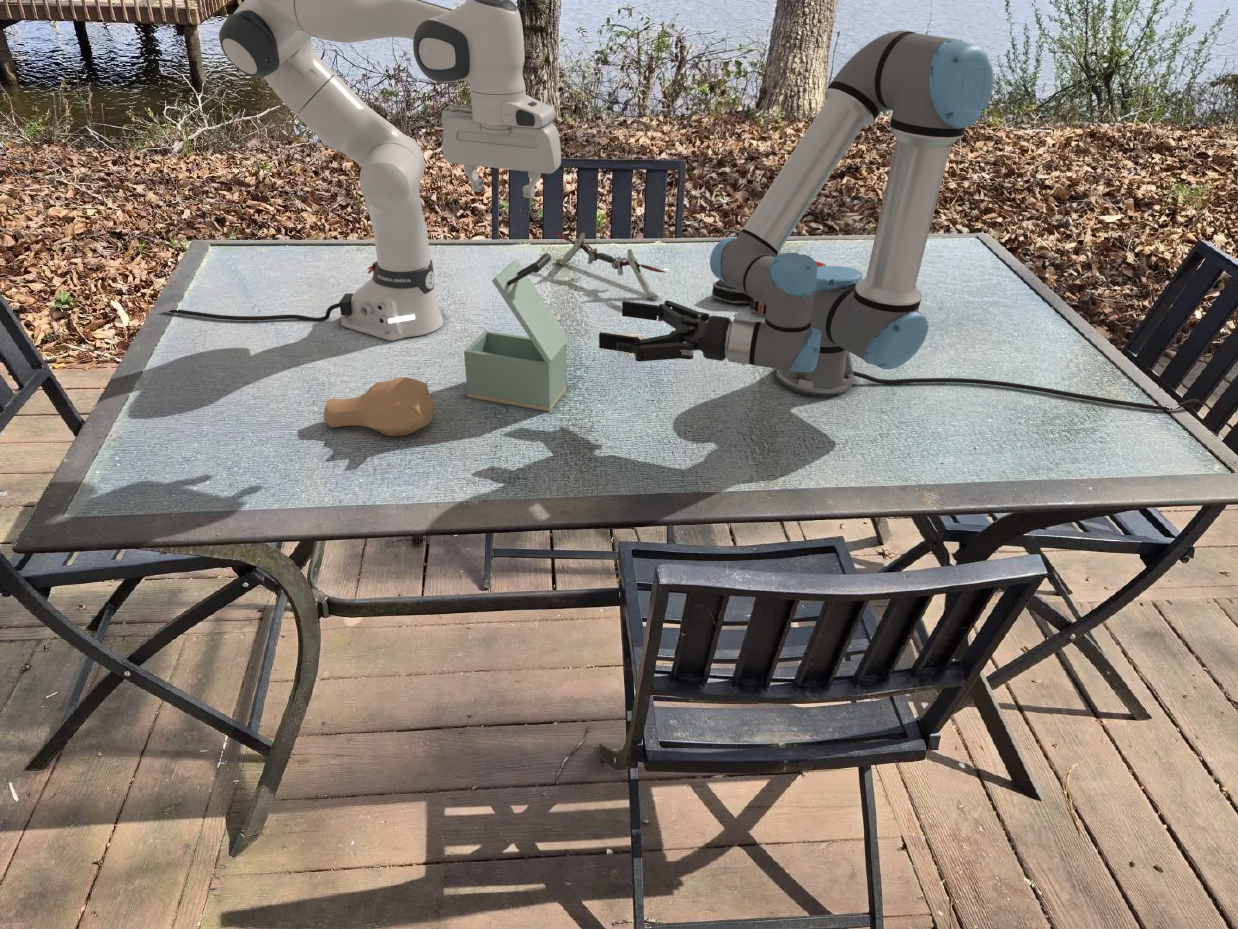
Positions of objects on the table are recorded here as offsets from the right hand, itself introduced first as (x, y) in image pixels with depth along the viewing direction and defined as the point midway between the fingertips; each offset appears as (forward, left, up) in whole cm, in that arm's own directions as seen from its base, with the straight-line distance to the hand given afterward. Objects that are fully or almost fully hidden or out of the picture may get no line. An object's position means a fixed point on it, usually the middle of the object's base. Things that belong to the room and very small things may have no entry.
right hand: (611, 323), depth 156 cm
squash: (+42, +2, -18) cm, 46 cm away
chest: (+17, -8, -18) cm, 26 cm away
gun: (-47, -54, -18) cm, 73 cm away
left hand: (+18, -9, +21) cm, 29 cm away
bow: (-7, -64, -18) cm, 67 cm away
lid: (+14, -7, 0) cm, 16 cm away
